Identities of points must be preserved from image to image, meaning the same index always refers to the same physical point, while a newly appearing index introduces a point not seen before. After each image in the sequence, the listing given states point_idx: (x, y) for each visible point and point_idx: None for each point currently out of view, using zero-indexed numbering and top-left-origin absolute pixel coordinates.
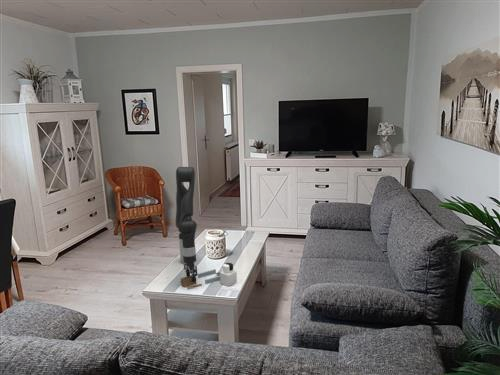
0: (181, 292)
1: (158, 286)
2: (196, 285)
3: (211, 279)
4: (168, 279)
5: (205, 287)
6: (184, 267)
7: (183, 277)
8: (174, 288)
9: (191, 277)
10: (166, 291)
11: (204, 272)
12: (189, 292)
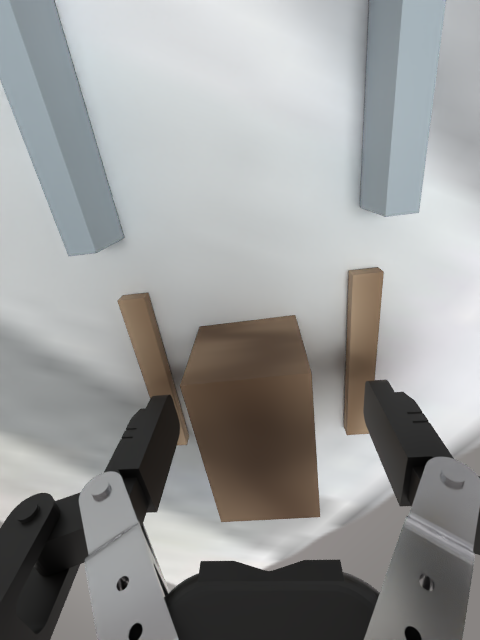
0: (386, 476)
1: (173, 555)
2: (366, 342)
3: (429, 63)
4: (63, 491)
5: (475, 245)
6: (53, 596)
7: (218, 497)
8: None
9: (277, 428)
10: (289, 540)
11: (37, 103)
12: (442, 429)
